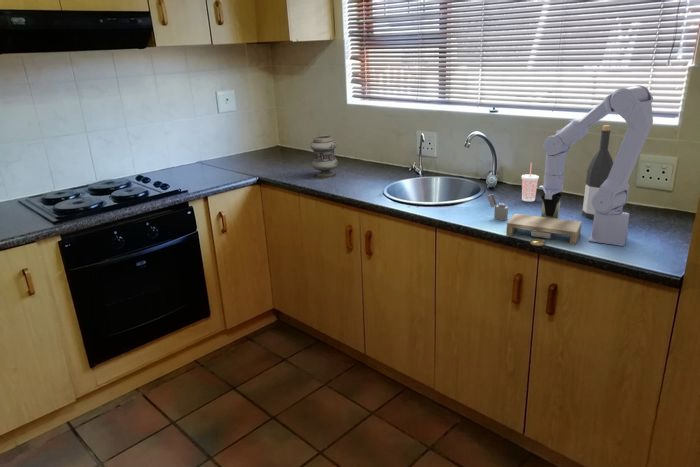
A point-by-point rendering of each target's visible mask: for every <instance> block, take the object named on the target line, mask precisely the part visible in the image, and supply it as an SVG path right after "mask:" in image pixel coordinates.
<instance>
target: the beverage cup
mask: <svg viewBox="0 0 700 467" xmlns="http://www.w3.org/2000/svg"><path fill="white" fill-rule="evenodd" d="M529 166H530V167H529V174H527V173H525V174H522V175H521V200H522V201H524V202H530V203H531V202H534V201H536V194H537V189H538V188H537V187H538V181H539V178H540V176H539V175H537V174H533V173H532V169H533V162H530V165H529Z"/></svg>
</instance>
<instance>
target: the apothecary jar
mask: <svg viewBox="0 0 700 467" xmlns="http://www.w3.org/2000/svg"><path fill="white" fill-rule="evenodd" d="M336 147H337V142H336V141H335V140H334V139H333V136H332V135H327V134H325V135H324V134H322V135H317V136H313V141H312V142H311V144H310V148H311V150H312V151H313V160H312V161H311V166H312V167H313V169H314V170H317V171H318V172H317V173H315V174H314V177H315V178H318V179H319V178H320V179H330V178H334V177H336V176H337V173H336V172H333V171H332V170H333V169H335V168H337V167H338V165H339V161H338V160H337V158H336V155H335V149H336Z"/></svg>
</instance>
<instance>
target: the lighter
mask: <svg viewBox="0 0 700 467" xmlns="http://www.w3.org/2000/svg"><path fill="white" fill-rule="evenodd" d="M486 197H487V199H488V202H489V204H490V207H491V208H492V207H493V208H494V214H493V215H494V216H493V218H494V219H496V220H499V221H500V220H501V221H507V220H508V217H509V207H508V206H506V204H505V203H503V202H502V203H501V202H499V203H498V202H497V201H496V197H495V195H494V193H490V194H488V195H487V196H486ZM497 203H498V204H497Z"/></svg>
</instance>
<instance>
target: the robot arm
mask: <svg viewBox="0 0 700 467" xmlns="http://www.w3.org/2000/svg"><path fill="white" fill-rule="evenodd" d="M653 100H654V96H653V95H652V93H651V92H650V90H649V89H648V88H647V87H646V86H643V85H639V84H638V85H633V86H629V87H621V88H618V89H615V91H614V92H612V93H610V94H608V95H607V96H606V97H605V98H604V99H603V100H601V101H600V102H599V103H598V104H596V106H595V107H594V108H592V109H591V110H589V112H588V113H586V115H584V116H583V117H582V118H581V119H579V118H574V119H569V120H568V121H566V125H565V126H564V127H563V128H561V129H559V130H556V131H555V134H554V135H550V136H547V137H546V138H545V140H544V142H543V143H542V144H543V146H542V147H543V151H544V152H545V154H546V155H545V165H544V175H543V185H539V188H538V189H540V190H543V193H542V194H541V200H542V203H543V202H544V206H545V214H546V216H551V217H553V215H554V212H555V208H556V205H557V202H558V201H560V199H561V197H562V195H563V194H564V192H563V191H564V179H565V178H564V177H565V170H566V169H565V168H566V166H565V165H566V158H567V153H568V152H569V151H570V150H571V148H572V146H573V145H574V144H576V143H577V142H579V141H580V140H581V139H583V137H585V136H587V135H588V134H589V128H591V127H592V126H593V125H594V124H597V123H598V122H599V121H600V120H601V119H603V118H605V117H606V116H608V115H609V114H610V113H613V112H615V113H617V114H618V115H619V116H620V117H621V118H623V120H624V121H625V123H626V124H627V129H626V131H625V134H624V137H623V139H622V141H621V143H620V146H619V149H618V151H617V152H616V153H617V154H616V156H615V158H614V161H613V166H612V168H611V171H610V173H609V176H608V178H607V179H606V180H605V182H604V183H603V184H602V185H601V186H600V188H599V190H598V192H596V193H595V194H594V195H593V197H592V206H593V207H594V209H595V213H594V219H593V221H592V222H593V224H592V231H591V233H590V235H589V238H588V241H589V242H592V243H600V244H608V245H613V246H620V247H621V246H622V247H623V246H625V245H626V239H627V238H628V234H629V231H628V228H629V227H628V226H629V220H630V213H629V212H626V211H625V212H624V211H623V207H624V206H625V205H626V204H627V203H628V200H629V190H630V187H631V186H630V184H629V180H630V177H631V175H632V174H633V171H634V168H635V166H636V163H637V161H638V160H639V157H640V154H641V152H642V150H643V149H644V145H645V142H646V141H647V138H648V136H649V133H650V131H651V129H652V126H653V123H654V117H653V108H652V104H653Z"/></svg>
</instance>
